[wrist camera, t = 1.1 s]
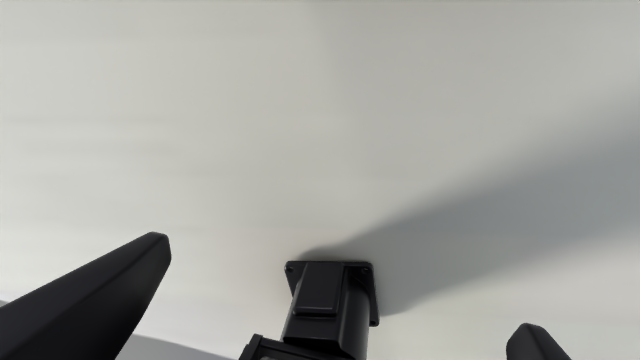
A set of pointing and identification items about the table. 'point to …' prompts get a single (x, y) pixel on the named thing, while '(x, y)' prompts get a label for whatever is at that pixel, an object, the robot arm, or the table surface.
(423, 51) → the table surface
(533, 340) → the robot arm
